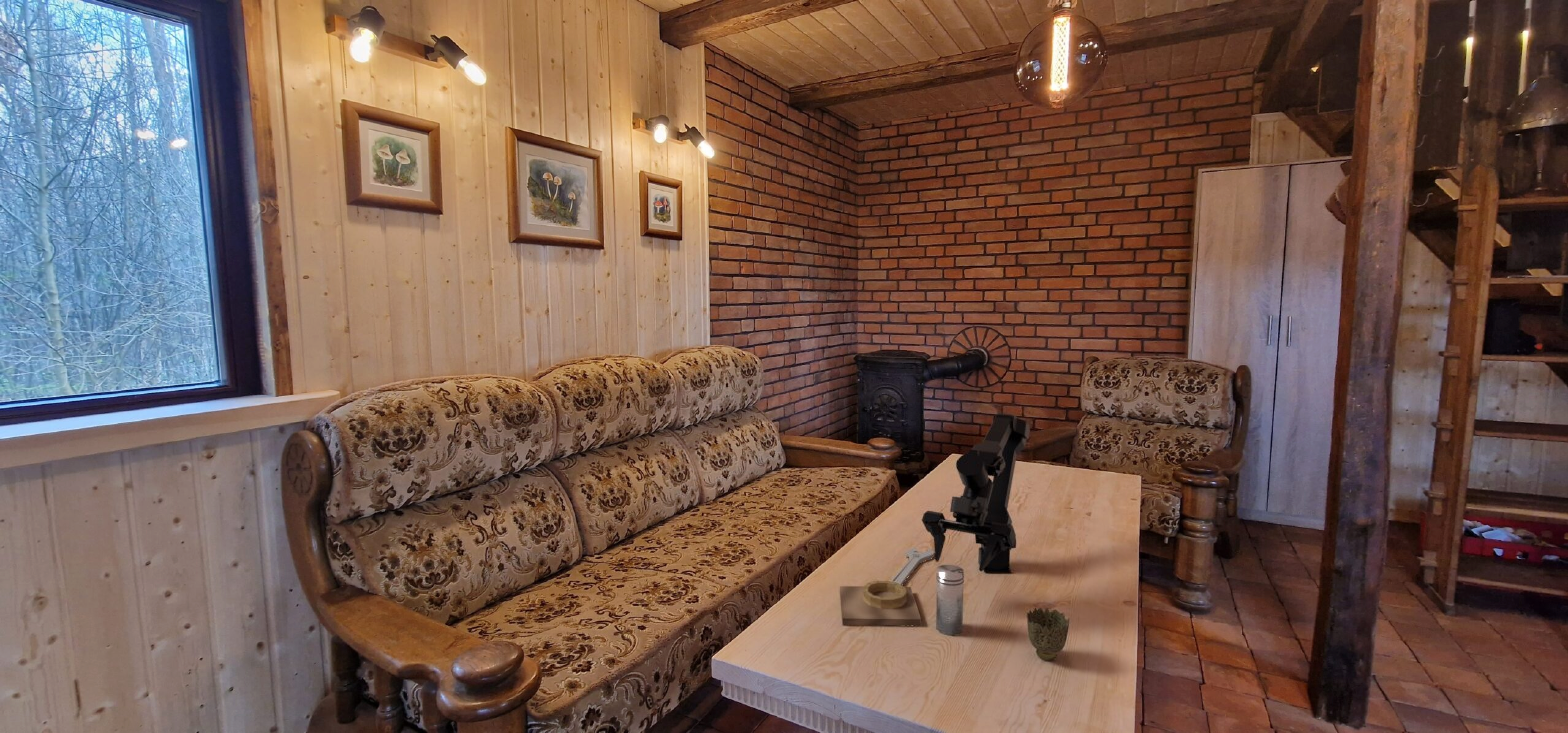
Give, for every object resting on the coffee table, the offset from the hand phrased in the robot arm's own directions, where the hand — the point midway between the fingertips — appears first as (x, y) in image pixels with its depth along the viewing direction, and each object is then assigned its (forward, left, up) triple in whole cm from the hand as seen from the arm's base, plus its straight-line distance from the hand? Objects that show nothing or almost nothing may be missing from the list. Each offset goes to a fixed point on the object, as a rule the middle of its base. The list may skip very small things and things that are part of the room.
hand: (958, 565), depth 140 cm
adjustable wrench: (+7, -25, -12) cm, 29 cm away
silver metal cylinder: (+2, +4, -11) cm, 13 cm away
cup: (-14, +14, -12) cm, 23 cm away
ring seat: (+16, -4, -11) cm, 20 cm away
